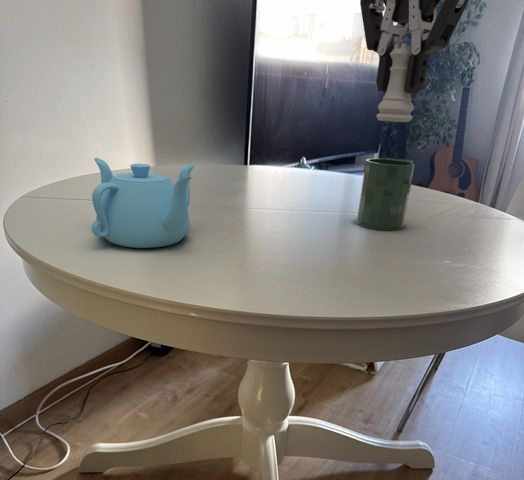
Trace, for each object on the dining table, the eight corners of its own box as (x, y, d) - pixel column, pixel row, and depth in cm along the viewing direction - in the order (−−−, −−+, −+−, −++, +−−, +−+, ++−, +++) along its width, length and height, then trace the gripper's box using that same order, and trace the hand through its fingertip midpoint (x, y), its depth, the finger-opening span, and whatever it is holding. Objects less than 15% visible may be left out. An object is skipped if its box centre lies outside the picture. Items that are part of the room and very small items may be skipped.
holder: (376, 217, 90) (386, 157, 85) (411, 227, 85) (424, 164, 80) (347, 221, 86) (356, 159, 81) (382, 232, 80) (394, 166, 75)
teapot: (80, 252, 63) (69, 170, 58) (103, 223, 76) (95, 154, 71) (193, 255, 65) (191, 175, 60) (196, 226, 78) (195, 158, 73)
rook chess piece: (416, 121, 60) (430, 46, 56) (405, 122, 57) (418, 42, 53) (383, 119, 62) (393, 46, 58) (369, 120, 59) (380, 43, 55)
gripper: (510, -103, 47) (467, 95, 55) (393, -74, 57) (372, 92, 65) (470, -124, 43) (430, 93, 51) (351, -89, 52) (334, 90, 61)
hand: (398, 91), depth 58 cm, fingers closed on rook chess piece, 3 cm apart
